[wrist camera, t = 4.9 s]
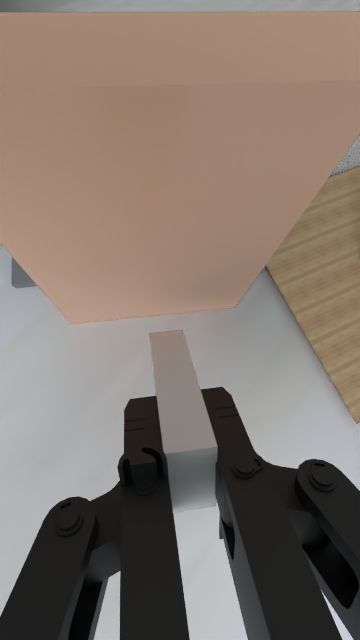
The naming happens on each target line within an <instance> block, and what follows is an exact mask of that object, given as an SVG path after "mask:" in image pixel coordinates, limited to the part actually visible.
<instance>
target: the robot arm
mask: <svg viewBox="0 0 360 640" xmlns="http://www.w3.org/2000/svg"><path fill="white" fill-rule="evenodd" d="M149 335H150V346H151V357H152V367H153V378H154V387H155V396H152V397H144V398H136V399H130V400H129V402H128V404H127V406H126V408H125V409H124V454H123V455H122V457H121V458H120V460H119V464H118V472H119V477H120V481H119V482H118V484H117V485H116V486H115V487H114V488H113V489H112V490H111V491H109V492H107V493H106V494H104V495H102V496H100V497H98V498H96V499H94V500H92V501H88V500H87V499H85V498H82V497H71V498H67V499H65V500H63V501H61V502H59V503H58V504H56V505H55V506H54V507H53V508H52V509H51V510H50V511H49V513H48V514H47V516H46V517H45V519H44V521H43V523H42V525H41V528H40V530H39V532H38V534H37V536H36V539H35V541H34V543H33V545H32V548H31V550H30V552H29V554H28V557H27V559H26V561H25V563H24V565H23V568H22V570H21V572H20V574H19V577H18V579H17V581H16V583H15V585H14V588H13V590H12V592H11V594H10V597H9V599H8V601H7V603H6V605H5V608H4V610H3V612H2V614H1V617H0V640H94V635H95V631H96V627H97V623H98V619H99V615H100V611H101V607H102V603H103V599H104V594H105V590H106V586H107V582H108V578H109V577H110V576H112V575H114V574H115V573H117V572H119V571H121V576H120V640H190V639H189V631H188V624H187V616H186V608H185V601H184V593H183V585H182V578H181V570H180V562H179V554H178V547H177V539H176V531H175V524H174V516H173V513H177V512H183V511H189V510H195V509H201V508H207V507H213V506H216V499H217V503H218V507H219V511H220V523H219V537H220V539H224V543H225V547H226V551H227V555H228V559H229V564H230V568H231V572H232V576H233V580H234V584H235V588H236V592H237V596H238V601H239V605H240V609H241V613H242V617H243V621H244V625H245V629H246V633H247V638H248V640H342V638H341V636H340V633H339V631H338V629H337V626H336V624H335V622H334V619H333V617H332V615H331V612H330V610H329V608H328V605H327V603H326V601H325V599H324V596H323V594H322V592H323V593H324V595H325V596H326V598H327V599H328V601H329V602H330V604H331V605H332V607H333V609H334V610H335V612H336V613H337V615H338V616H339V618H340V619H341V621H342V622H343V624H344V625H345V627H346V628H347V630H348V631H349V633H350V635H351V636H352V638H353V639H354V640H360V491H359V490H358V489H357V488H356V487H355V486H354V484H353V483H352V482H351V481H350V480H349V479H348V478H347V477H346V476H345V475H344V474H343V473H342V472H341V471H340V470H339V469H338V468H336V467H335V466H334V465H332V464H330V463H328V462H326V461H323V460H317V459H311V460H306V461H304V462H303V463H302V464H300V465H299V468H298V469H294V468H287V467H280V466H276V465H272V464H270V463H268V462H266V461H265V460H263V459H262V457H260V456H259V455H258V454H257V453H256V452H255V450H254V449H253V447H252V444H251V442H250V439H249V437H248V435H247V432H246V430H245V427H244V425H243V423H242V420H241V418H240V416H239V413H238V411H237V408H236V407H235V403H234V401H233V399H232V396H231V395H230V394H229V393H228V392H227V391H226V390H225V389H224V388H223V387H217V388H209V389H201V390H200V386H199V383H198V380H197V376H196V373H195V370H194V367H193V363H192V360H191V357H190V353H189V350H188V347H187V343H186V340H185V337H184V333H183V330H175V331H166V332H156V333H149ZM321 590H322V592H321Z"/></svg>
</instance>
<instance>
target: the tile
mask: <svg viewBox="0 0 360 640" xmlns="http://www.w3.org/2000/svg"><path fill="white" fill-rule="evenodd" d="M359 135H360V11H324V12H0V243H1V244H2V245H3V247H4V248H5V249H6V250H7V251H8V252H9V253H10V255H11V256H12V257H13V258H14V259H15V260H16V261H17V263H18V264H19V265H20V266H21V267H22V268H23V269H24V271H25V272H26V273H27V274H28V275H29V276H30V278H31V279H32V280H33V281H34V282H35V283H36V284H37V286H38V287H39V288H40V289H41V290H42V291H43V292H44V294H45V295H46V296H47V297H48V298H49V299H50V300H51V302H52V303H53V304H54V305H55V306H56V307H57V308H58V310H59V311H60V312H61V313H62V314H63V315H64V317H65V318H66V319H67V320H68V321H69V322H70V323H71V324H78V323H88V322H98V321H108V320H118V319H127V318H137V317H147V316H157V315H167V314H176V313H186V312H196V311H206V310H216V309H225V308H235V307H236V305H237V304H238V303H239V301H240V300H241V298H242V297H243V296H244V294H245V293H246V291H247V290H248V289H249V287H250V286H251V284H252V283H253V282H254V280H255V279H256V278H257V276H258V275H259V273H260V272H261V271H262V269H263V268H264V266H265V265H266V264H267V262H268V261H269V260H270V258H271V257H272V255H273V254H274V253H275V251H276V250H277V248H278V247H279V246H280V244H281V243H282V242H283V240H284V239H285V237H286V236H287V235H288V233H289V232H290V230H291V229H292V228H293V226H294V225H295V223H296V222H297V221H298V219H299V218H300V217H301V215H302V214H303V212H304V211H305V210H306V208H307V207H308V205H309V204H310V203H311V201H312V200H313V199H314V197H315V196H316V194H317V193H318V192H319V190H320V189H321V187H322V186H323V185H324V183H325V182H326V180H327V179H328V178H329V176H330V175H331V174H332V172H333V171H334V169H335V168H336V167H337V165H338V164H339V162H340V161H341V160H342V158H343V157H344V156H345V154H346V153H347V151H348V150H349V149H350V147H351V146H352V144H353V143H354V142H355V140H356V139H357V138H358V136H359Z"/></svg>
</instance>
